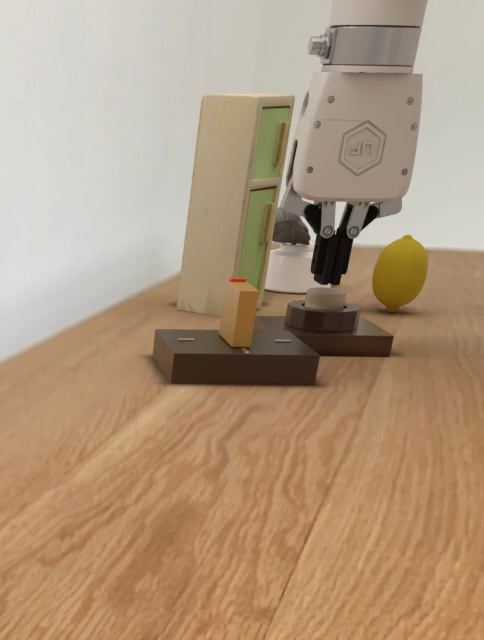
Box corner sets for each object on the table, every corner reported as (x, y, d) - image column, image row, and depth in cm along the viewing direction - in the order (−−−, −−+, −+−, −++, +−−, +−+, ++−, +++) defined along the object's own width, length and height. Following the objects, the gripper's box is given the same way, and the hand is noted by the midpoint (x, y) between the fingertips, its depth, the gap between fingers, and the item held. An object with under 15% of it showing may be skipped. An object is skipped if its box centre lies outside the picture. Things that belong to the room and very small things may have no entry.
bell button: (336, 306, 107) (340, 287, 106) (348, 313, 104) (352, 294, 103) (299, 306, 107) (302, 287, 106) (309, 313, 104) (313, 293, 103)
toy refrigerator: (233, 319, 120) (265, 94, 109) (174, 310, 124) (200, 93, 113) (268, 310, 125) (303, 94, 114) (211, 301, 129) (239, 92, 118)
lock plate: (282, 365, 101) (289, 328, 99) (313, 392, 92) (320, 353, 91) (151, 363, 101) (155, 327, 100) (169, 390, 93) (174, 351, 91)
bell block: (358, 340, 111) (367, 297, 109) (389, 360, 103) (398, 315, 101) (248, 338, 111) (255, 296, 109) (270, 358, 103) (278, 313, 101)
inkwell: (338, 285, 139) (355, 198, 134) (304, 308, 126) (321, 211, 120) (265, 279, 143) (278, 193, 138) (224, 300, 130) (237, 206, 124)
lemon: (417, 318, 121) (435, 239, 117) (364, 314, 123) (380, 236, 118) (417, 310, 125) (435, 233, 121) (366, 306, 127) (381, 230, 123)
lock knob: (250, 347, 93) (260, 287, 90) (231, 347, 93) (240, 287, 90) (236, 334, 98) (244, 276, 95) (218, 334, 98) (226, 276, 95)
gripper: (293, 51, 91) (255, 288, 101) (475, 54, 91) (420, 291, 101) (271, 52, 98) (237, 274, 107) (440, 55, 98) (392, 277, 107)
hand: (326, 282), depth 104 cm, fingers closed
